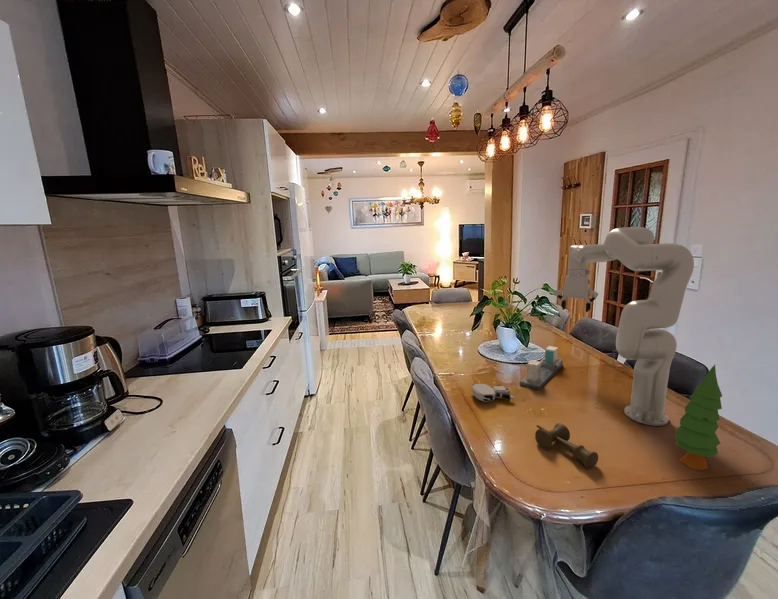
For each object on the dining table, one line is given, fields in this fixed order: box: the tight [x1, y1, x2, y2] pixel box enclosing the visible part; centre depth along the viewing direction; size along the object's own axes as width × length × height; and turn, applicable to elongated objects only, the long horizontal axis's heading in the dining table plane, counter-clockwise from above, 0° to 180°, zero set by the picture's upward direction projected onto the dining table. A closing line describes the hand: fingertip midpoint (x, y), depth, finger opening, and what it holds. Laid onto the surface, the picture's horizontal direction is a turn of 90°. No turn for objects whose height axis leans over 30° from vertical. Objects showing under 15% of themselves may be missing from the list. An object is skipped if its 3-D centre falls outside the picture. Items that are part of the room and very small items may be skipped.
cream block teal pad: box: [544, 345, 559, 364], centre depth 166 cm, size 4×6×8 cm
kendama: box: [534, 422, 599, 470], centre depth 106 cm, size 6×10×20 cm
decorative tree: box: [674, 364, 723, 471], centre depth 96 cm, size 10×9×30 cm
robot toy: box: [469, 383, 515, 403], centre depth 140 cm, size 12×4×15 cm
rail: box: [519, 356, 564, 391], centre depth 159 cm, size 32×8×10 cm, turn 138°
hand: (575, 310), depth 159 cm, fingers open, 9 cm apart
